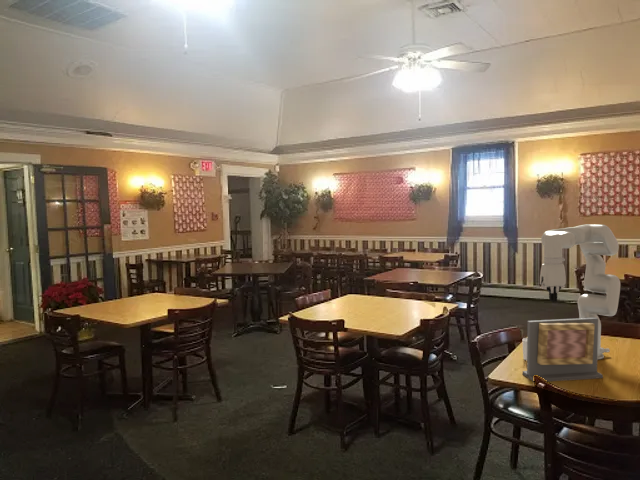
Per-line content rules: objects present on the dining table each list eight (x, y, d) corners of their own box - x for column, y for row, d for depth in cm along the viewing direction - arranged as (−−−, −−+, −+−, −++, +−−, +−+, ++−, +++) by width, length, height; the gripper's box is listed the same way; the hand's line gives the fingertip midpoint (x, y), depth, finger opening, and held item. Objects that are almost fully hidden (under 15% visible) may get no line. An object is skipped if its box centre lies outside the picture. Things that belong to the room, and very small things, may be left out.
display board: (588, 370, 229) (589, 315, 227) (602, 378, 219) (603, 320, 217) (522, 374, 227) (523, 318, 224) (533, 382, 217) (534, 324, 215)
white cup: (541, 362, 242) (541, 342, 241) (523, 361, 244) (524, 341, 243) (537, 357, 250) (537, 337, 249) (520, 356, 251) (520, 337, 250)
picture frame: (588, 361, 222) (590, 322, 220) (592, 363, 219) (594, 324, 217) (537, 362, 220) (539, 323, 218) (540, 364, 217) (542, 324, 215)
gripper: (564, 258, 225) (564, 298, 227) (532, 260, 224) (533, 300, 226) (574, 261, 218) (573, 301, 219) (541, 263, 216) (541, 304, 218)
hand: (553, 301), depth 222 cm, fingers closed
